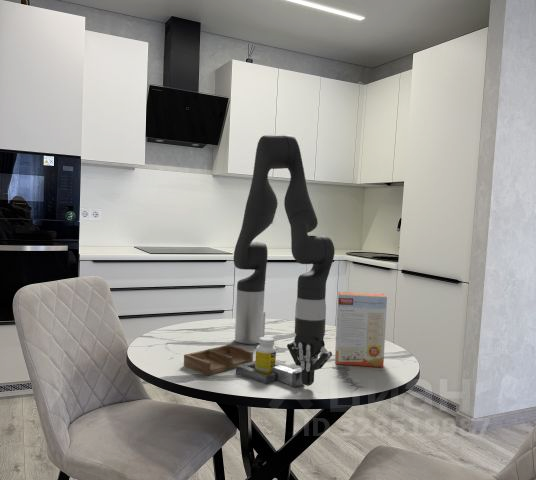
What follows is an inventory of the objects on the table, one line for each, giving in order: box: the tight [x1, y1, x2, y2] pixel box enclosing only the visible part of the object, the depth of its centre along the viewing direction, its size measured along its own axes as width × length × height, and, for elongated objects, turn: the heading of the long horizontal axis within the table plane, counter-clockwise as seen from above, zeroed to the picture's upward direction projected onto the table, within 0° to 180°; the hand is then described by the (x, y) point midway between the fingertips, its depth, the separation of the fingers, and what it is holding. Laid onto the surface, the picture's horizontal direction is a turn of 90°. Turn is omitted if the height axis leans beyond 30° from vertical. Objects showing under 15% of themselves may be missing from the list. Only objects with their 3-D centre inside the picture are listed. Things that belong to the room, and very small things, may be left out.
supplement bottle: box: [254, 336, 277, 373], centre depth 135 cm, size 5×5×10 cm
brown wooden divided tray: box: [183, 344, 254, 376], centre depth 142 cm, size 17×10×3 cm, turn 137°
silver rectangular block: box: [272, 365, 304, 388], centre depth 130 cm, size 4×8×4 cm, turn 48°
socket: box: [235, 360, 295, 385], centre depth 135 cm, size 11×11×2 cm
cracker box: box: [334, 291, 388, 368], centre depth 149 cm, size 14×6×21 cm, turn 84°
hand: (307, 384), depth 126 cm, fingers closed
